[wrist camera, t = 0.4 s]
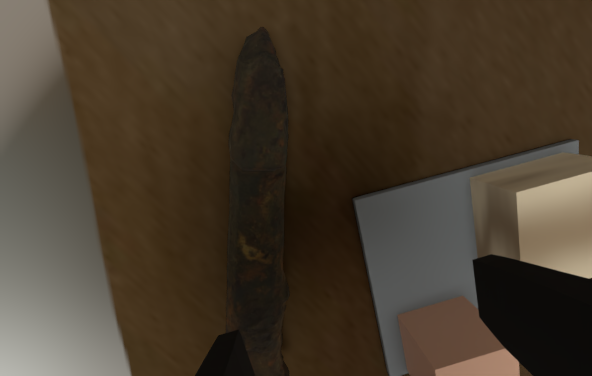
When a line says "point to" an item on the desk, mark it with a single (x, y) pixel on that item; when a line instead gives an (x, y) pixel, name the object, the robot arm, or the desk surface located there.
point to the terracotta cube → (452, 342)
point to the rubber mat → (425, 244)
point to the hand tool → (258, 205)
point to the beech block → (537, 213)
